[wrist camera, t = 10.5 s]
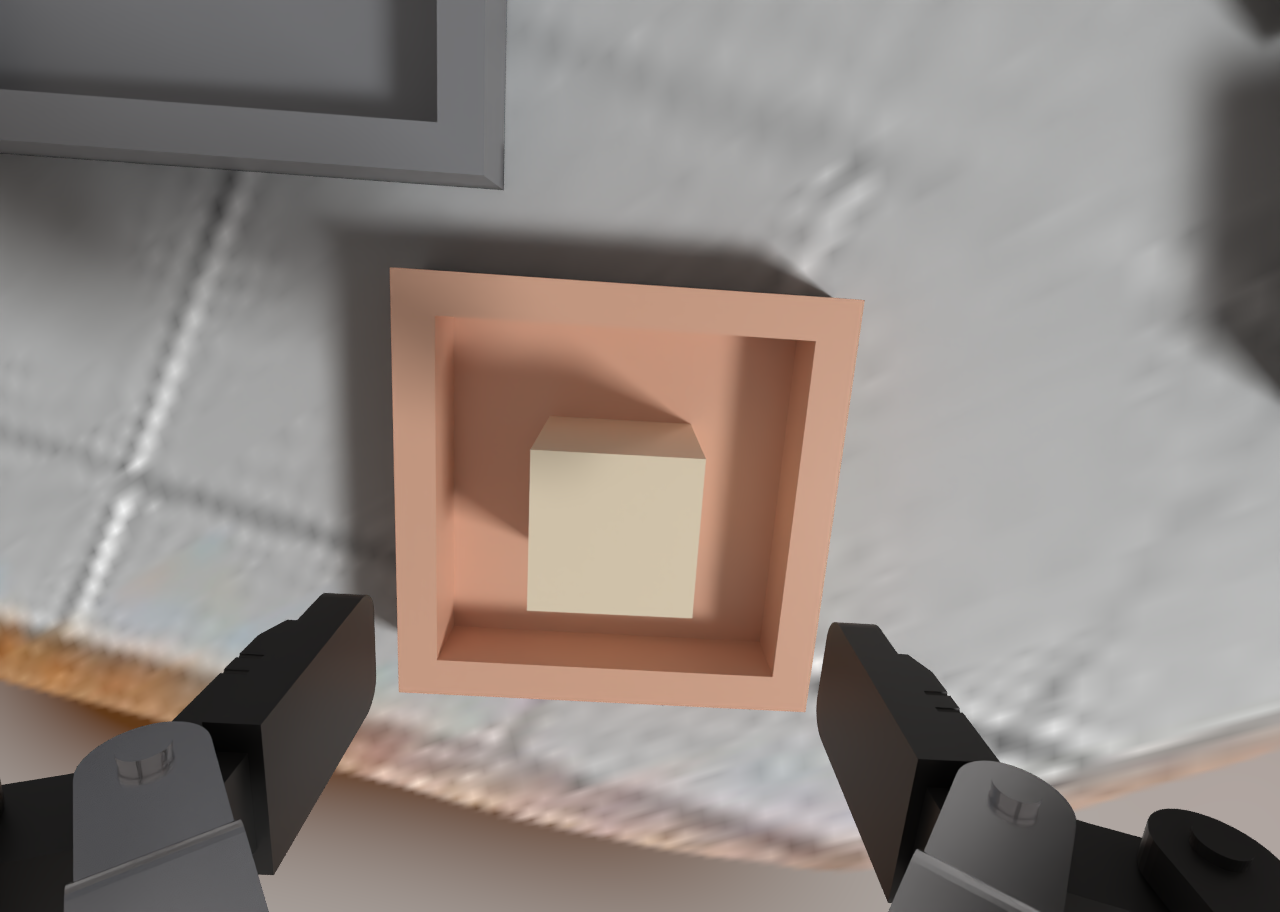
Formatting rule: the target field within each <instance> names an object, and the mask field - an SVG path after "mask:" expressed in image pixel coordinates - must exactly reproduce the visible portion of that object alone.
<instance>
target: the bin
mask: <svg viewBox="0 0 1280 912" xmlns="http://www.w3.org/2000/svg"><path fill="white" fill-rule="evenodd" d="M506 27H507V0H0V153H5V154H19V155H32V156H46V157H60V158H73V159H87V160H101V161H114V162H128V163H142V164H155V165H169V166H182V167H196V168H210V169H223V170H237V171H251V172H264V173H278V174H292V175H305V176H319V177H333V178H346V179H360V180H374V181H387V182H401V183H415V184H428V185H442V186H456V187H469V188H483V189H497V190H504V143H505V85H506Z"/></svg>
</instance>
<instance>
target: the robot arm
mask: <svg viewBox="0 0 1280 912" xmlns="http://www.w3.org/2000/svg"><path fill="white" fill-rule="evenodd" d="M375 685H376V657H375V628H374V606H373V602H372V599H371V597H370V596H368V595H353V594H335V593H324V594H322V595H321V596H319V598H318V599H317V600H316V601H315V602H314V603H313V604H312V605H311V606H310V607H309V608H308V609H307V610H306V611H305V612H304V614H303V615H302V616H301V617H300V618H299V619H298V620H286V621H284V622H282V623H280V624H278V625H276V626H275V627H273V628H271V629H269V630H267V631H265V632H263V633H261V634H260V635H258V636H257V637H256V638H255V639H254V640H253V641H252V642H251V643H250V644H249V645H248V646H247V647H246V648H245V649H244V650H243V651H242V652H241V653H240V656H239V658H238V657H236V658H235V659H234V660H233V661H232V662H231V663H230V664H229V665H228V666H227V667H226V668H225V669H224V673H220V674H219V675H218V676H217V677H216V678H215V679H214V680H213V681H212V682H211V683H210V684H209V685H208V686H207V687H206V688H205V689H204V690H203V691H202V692H201V693H200V694H199V695H198V696H197V697H196V698H195V699H194V700H193V701H192V702H191V703H190V704H189V705H188V706H187V707H186V708H185V709H184V710H183V711H182V712H181V713H180V714H179V715H178V716H177V717H176V718H175V719H174V720H173V721H172V722H161V723H155V724H150V725H147V726H142V727H139V728H136V729H133V730H130V731H128V732H125V733H122V734H120V735H118V736H116V737H114V738H112V739H110V740H108V741H106V742H105V743H103V744H101V745H100V746H98V747H97V748H95V749H94V750H93V751H91V752H90V753H89V754H88V755H87V756H86V757H85V758H84V759H83V760H82V761H81V762H80V764H79V765H78V766H77V768H76V770H75V772H74V773H72V774H67V775H61V776H55V777H48V778H42V779H37V780H30V781H24V782H17V783H11V784H5V785H1V782H0V912H269V911H268V908H267V904H266V901H265V897H264V894H263V891H262V887H261V884H260V880H259V877H258V874H261V875H274V874H275V872H276V870H277V868H278V867H279V865H280V863H281V862H282V860H283V858H284V856H285V855H286V853H287V851H288V850H289V848H290V846H291V845H292V843H293V841H294V839H295V838H296V836H297V834H298V833H299V831H300V829H301V827H302V825H303V824H304V822H305V821H306V819H307V817H308V815H309V814H310V812H311V810H312V808H313V807H314V805H315V803H316V802H317V800H318V798H319V796H320V795H321V793H322V791H323V789H324V788H325V786H326V784H327V783H328V781H329V779H330V778H331V776H332V774H333V772H334V771H335V769H336V767H337V766H338V764H339V762H340V760H341V759H342V757H343V755H344V754H345V752H346V750H347V748H348V747H349V745H350V743H351V742H352V740H353V738H354V736H355V735H356V733H357V731H358V730H359V728H360V726H361V724H362V723H363V721H364V719H365V718H366V716H367V714H368V712H369V709H370V707H371V704H372V700H373V697H374V692H375ZM959 709H960V708H959V707H958V706H957V704H956V703H955V702H954V700H953V699H952V698H951V696H947V691H946V690H945V688H944V687H943V686H942V684H941V683H940V682H939V680H938V679H937V678H936V676H935V675H934V674H933V673H932V672H931V671H930V670H928V669H927V668H926V667H924V666H923V665H922V664H920V663H919V662H917V661H916V660H915V659H913V658H912V657H910V656H909V655H906V654H897V652H896V651H895V649H894V648H893V646H892V645H891V644H890V642H889V641H888V639H887V638H886V636H885V635H884V634H883V632H882V631H881V629H880V628H879V627H878V626H877V625H874V624H856V623H838V622H834V623H832V624H831V626H830V628H829V630H828V634H827V640H826V646H825V652H824V659H823V665H822V671H821V678H820V684H819V690H818V697H817V709H816V712H817V725H818V731H819V735H820V738H821V740H822V743H823V745H824V748H825V750H826V753H827V755H828V757H829V760H830V762H831V765H832V767H833V770H834V772H835V775H836V777H837V779H838V782H839V784H840V787H841V789H842V792H843V794H844V796H845V799H846V801H847V804H848V806H849V809H850V811H851V814H852V816H853V818H854V821H855V823H856V826H857V828H858V831H859V833H860V835H861V838H862V840H863V843H864V845H865V848H866V850H867V853H868V855H869V857H870V860H871V862H872V865H873V867H874V870H875V872H876V874H877V877H878V879H879V882H880V884H881V887H882V889H883V891H884V894H885V896H886V899H887V901H888V903H892V904H891V907H890V909H889V911H888V912H1280V860H1279V859H1278V858H1276V857H1275V856H1274V855H1273V854H1272V853H1271V852H1270V851H1269V850H1267V849H1266V848H1265V847H1263V846H1262V845H1261V844H1259V843H1258V842H1257V841H1255V840H1254V839H1252V838H1250V837H1249V836H1247V835H1246V834H1244V833H1242V832H1240V831H1239V830H1237V829H1235V828H1233V827H1231V826H1229V825H1227V824H1225V823H1223V822H1221V821H1218V820H1216V819H1213V818H1211V817H1208V816H1205V815H1202V814H1199V813H1195V812H1191V811H1187V810H1181V809H1162V810H1158V811H1156V812H1154V813H1153V814H1151V815H1150V817H1149V819H1148V821H1147V824H1146V827H1145V831H1144V834H1143V837H1142V838H1140V837H1137V836H1133V835H1130V834H1125V833H1122V832H1119V831H1115V830H1111V829H1108V828H1103V827H1100V826H1096V825H1093V824H1089V823H1086V822H1082V821H1079V820H1076V816H1075V813H1074V811H1073V809H1072V807H1071V806H1070V804H1069V803H1068V802H1067V800H1066V799H1065V798H1064V797H1063V796H1062V795H1061V794H1060V793H1059V792H1058V791H1057V790H1056V789H1054V788H1053V787H1052V786H1051V785H1049V784H1048V783H1046V782H1045V781H1043V780H1042V779H1040V778H1039V777H1037V776H1035V775H1033V774H1031V773H1029V772H1027V771H1025V770H1023V769H1020V768H1017V767H1015V766H1012V765H1008V764H1005V763H1000V761H999V760H998V759H997V757H996V756H995V755H994V753H993V752H992V751H991V749H990V748H989V747H988V746H987V744H986V743H985V742H984V740H983V739H982V738H981V736H980V735H979V734H978V732H977V731H976V730H975V728H974V727H973V726H972V724H971V723H970V722H969V720H968V719H967V718H966V716H965V715H964V714H963V713H960V710H959Z"/></svg>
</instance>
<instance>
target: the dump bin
mask: <svg viewBox="0 0 1280 912" xmlns="http://www.w3.org/2000/svg"><path fill="white" fill-rule="evenodd" d="M864 301H865V300H856V299H844V298H832V297H818V296H803V295H789V294H774V293H760V292H745V291H731V290H717V289H702V288H688V287H673V286H659V285H644V284H630V283H615V282H601V281H586V280H572V279H557V278H543V277H528V276H514V275H500V274H485V273H471V272H456V271H442V270H427V269H410V268H391V267H390V307H391V353H392V399H393V444H394V490H395V536H396V582H397V628H398V674H399V692H406V693H427V694H447V695H468V696H488V697H509V698H529V699H549V700H570V701H590V702H611V703H631V704H652V705H672V706H693V707H713V708H733V709H754V710H774V711H795V712H805V710H806V703H807V696H808V689H809V683H810V676H811V669H812V662H813V655H814V648H815V641H816V634H817V627H818V620H819V613H820V606H821V599H822V592H823V585H824V578H825V571H826V565H827V558H828V551H829V544H830V537H831V530H832V523H833V516H834V509H835V502H836V495H837V488H838V481H839V474H840V467H841V460H842V453H843V446H844V440H845V433H846V426H847V419H848V412H849V405H850V398H851V391H852V384H853V377H854V370H855V363H856V356H857V349H858V342H859V335H860V328H861V322H862V315H863V308H864ZM549 416H560V417H578V418H596V419H614V420H632V421H650V422H668V423H686V424H691V426H692V428H693V431H694V433H695V435H696V437H697V440H698V442H699V444H700V447H701V449H702V451H703V453H704V456H705V458H706V465H705V476H704V488H703V500H702V511H701V523H700V534H699V546H698V558H697V569H696V581H695V592H694V604H693V615H692V618H673V617H652V616H630V615H609V614H587V613H566V612H545V611H527V585H528V538H529V491H530V449H531V448H532V446H533V444H534V443H535V441H536V439H537V437H538V436H539V434H540V432H541V430H542V429H543V427H544V425H545V423H546V422H547V420H548V418H549Z"/></svg>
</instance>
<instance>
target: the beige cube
mask: <svg viewBox="0 0 1280 912" xmlns="http://www.w3.org/2000/svg"><path fill="white" fill-rule="evenodd" d="M705 465H706V458H705V456H704V453H703V451H702V449H701V447H700V444H699V442H698V440H697V437H696V435H695V433H694V431H693V428H692V426H691V424H686V423H668V422H650V421H632V420H614V419H596V418H578V417H560V416H549V418H548V420H547V422H546V423H545V425H544V427H543V429H542V430H541V432H540V434H539V436H538V437H537V439H536V441H535V443H534V444H533V446H532V448H531V449H530V491H529V538H528V585H527V611H545V612H566V613H587V614H609V615H630V616H652V617H673V618H692V615H693V604H694V592H695V581H696V569H697V558H698V546H699V534H700V523H701V511H702V500H703V488H704V476H705Z"/></svg>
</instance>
